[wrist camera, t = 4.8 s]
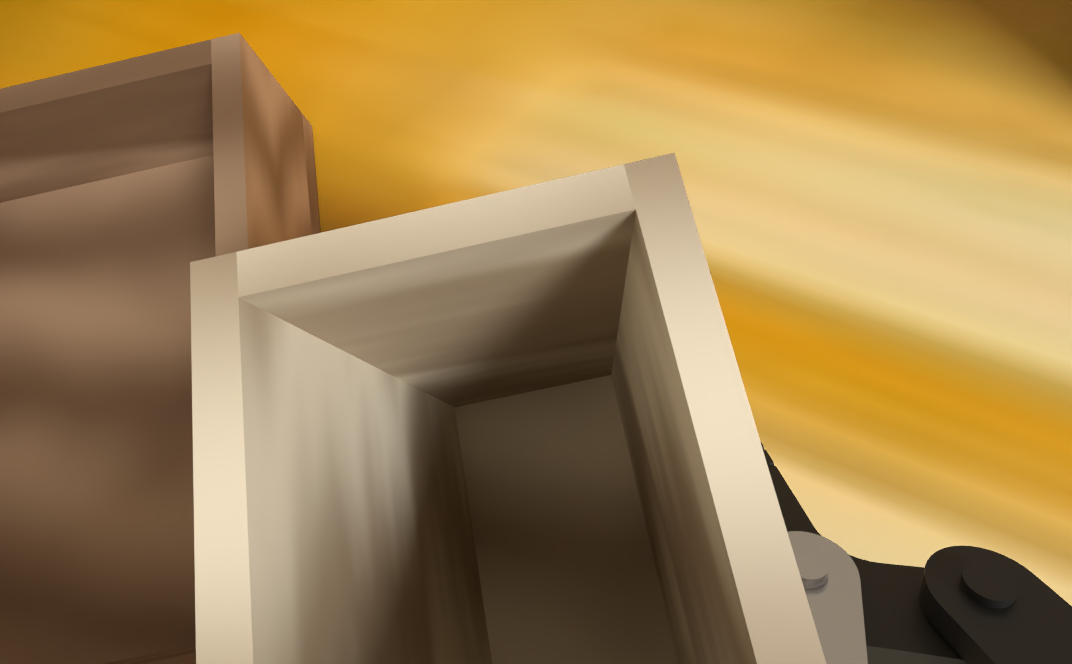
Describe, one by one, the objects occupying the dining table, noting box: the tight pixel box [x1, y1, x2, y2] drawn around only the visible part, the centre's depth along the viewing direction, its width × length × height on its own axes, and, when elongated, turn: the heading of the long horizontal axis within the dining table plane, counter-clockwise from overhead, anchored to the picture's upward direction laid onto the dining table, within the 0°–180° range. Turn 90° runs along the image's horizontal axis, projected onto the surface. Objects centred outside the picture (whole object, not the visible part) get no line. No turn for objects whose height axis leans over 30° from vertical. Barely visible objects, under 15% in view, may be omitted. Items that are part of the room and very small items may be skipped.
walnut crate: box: [0, 33, 321, 664], centre depth 18 cm, size 20×15×5 cm
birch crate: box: [190, 153, 826, 664], centre depth 11 cm, size 9×6×11 cm, turn 11°
